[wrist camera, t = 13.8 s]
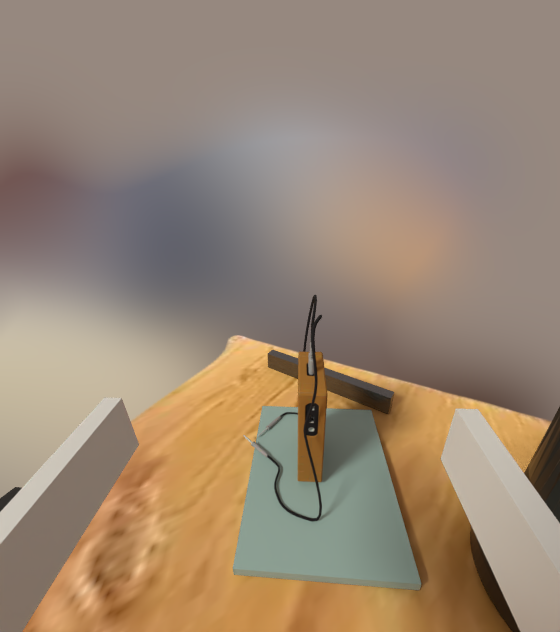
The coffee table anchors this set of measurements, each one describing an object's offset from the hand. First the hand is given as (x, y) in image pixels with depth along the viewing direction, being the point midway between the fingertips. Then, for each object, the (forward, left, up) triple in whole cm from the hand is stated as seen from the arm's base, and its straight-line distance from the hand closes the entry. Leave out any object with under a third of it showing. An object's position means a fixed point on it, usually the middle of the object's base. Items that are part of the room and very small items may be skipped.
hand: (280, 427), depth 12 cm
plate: (-3, -14, -23) cm, 27 cm away
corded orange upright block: (+2, -16, -22) cm, 27 cm away
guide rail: (-4, -31, -23) cm, 38 cm away
